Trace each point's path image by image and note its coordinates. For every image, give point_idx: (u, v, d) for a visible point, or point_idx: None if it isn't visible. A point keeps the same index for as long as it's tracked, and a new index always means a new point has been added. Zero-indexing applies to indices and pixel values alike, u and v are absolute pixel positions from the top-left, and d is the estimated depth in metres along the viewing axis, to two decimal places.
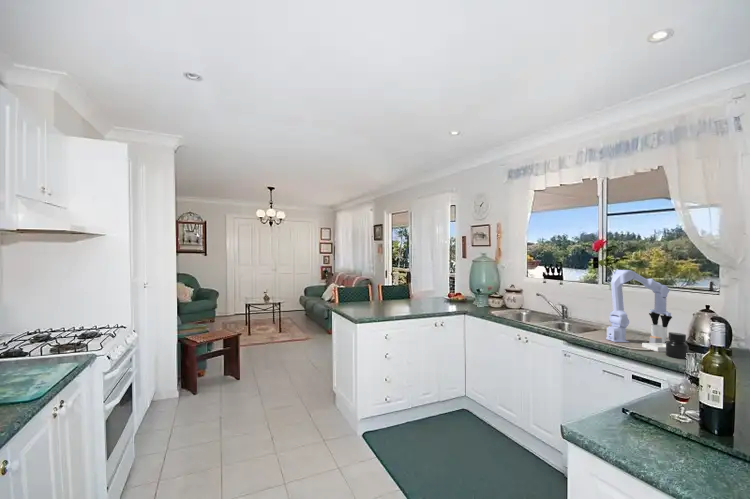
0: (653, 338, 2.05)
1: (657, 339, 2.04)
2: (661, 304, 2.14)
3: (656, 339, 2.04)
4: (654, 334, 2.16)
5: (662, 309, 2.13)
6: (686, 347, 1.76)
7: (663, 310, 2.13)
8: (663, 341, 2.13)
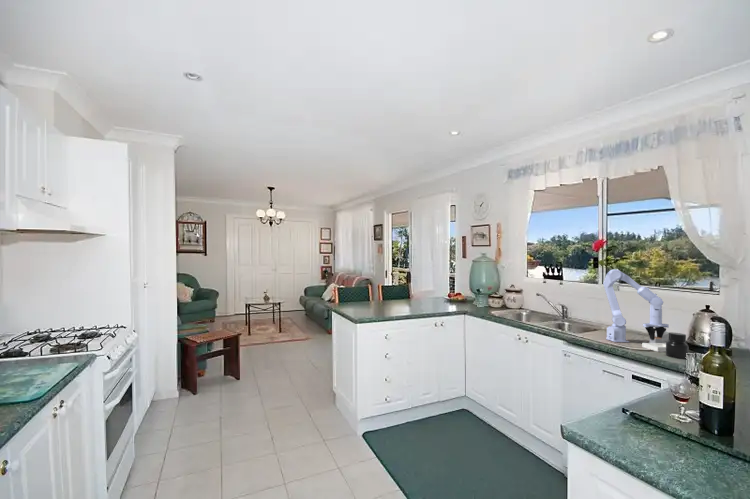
0: None
1: (657, 339, 2.04)
2: (650, 316, 2.07)
3: (656, 339, 2.04)
4: None
5: (650, 321, 2.07)
6: (686, 347, 1.76)
7: (651, 322, 2.06)
8: None
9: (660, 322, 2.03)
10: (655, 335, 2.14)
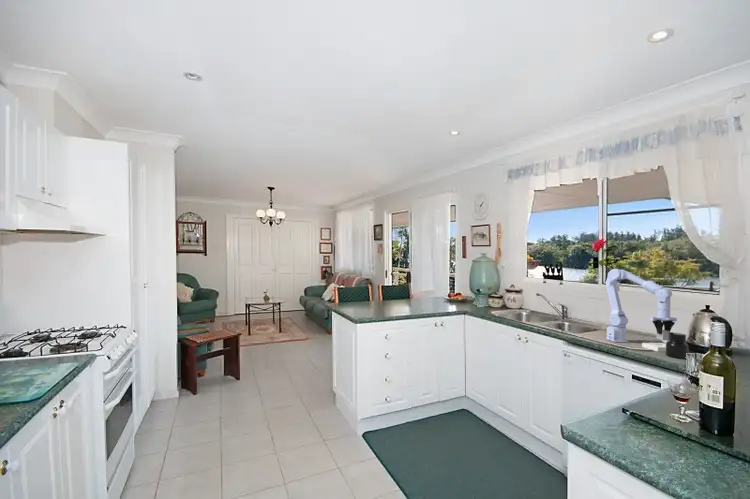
0: None
1: (665, 333, 1.94)
2: (657, 309, 1.97)
3: (664, 333, 1.94)
4: None
5: (657, 314, 1.96)
6: (686, 347, 1.76)
7: (658, 315, 1.96)
8: (664, 342, 2.12)
9: (668, 315, 1.93)
10: None
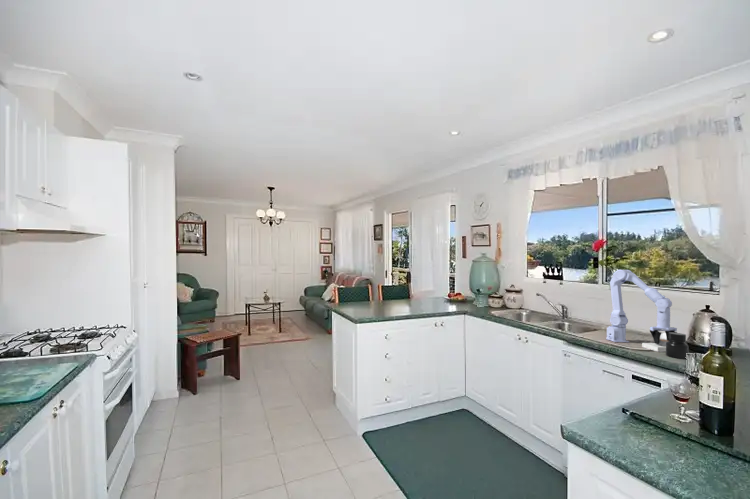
0: (660, 341, 1.95)
1: (665, 342, 1.94)
2: (657, 319, 1.97)
3: (664, 342, 1.94)
4: (663, 336, 2.10)
5: (657, 324, 1.96)
6: (686, 347, 1.76)
7: (658, 325, 1.96)
8: None
9: (668, 325, 1.93)
10: (661, 334, 2.13)
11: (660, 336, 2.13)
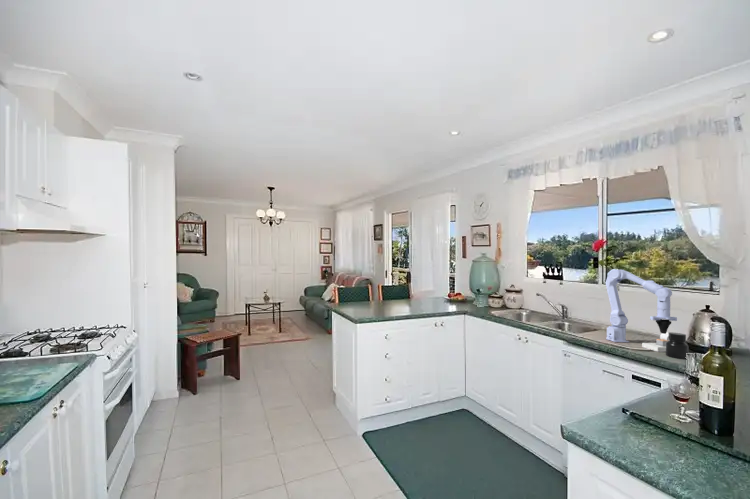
0: (660, 341, 1.95)
1: (665, 342, 1.94)
2: (657, 308, 1.97)
3: (664, 342, 1.94)
4: (663, 336, 2.10)
5: (657, 314, 1.96)
6: (686, 347, 1.76)
7: (658, 315, 1.96)
8: None
9: (668, 315, 1.93)
10: (661, 334, 2.13)
11: (660, 336, 2.13)
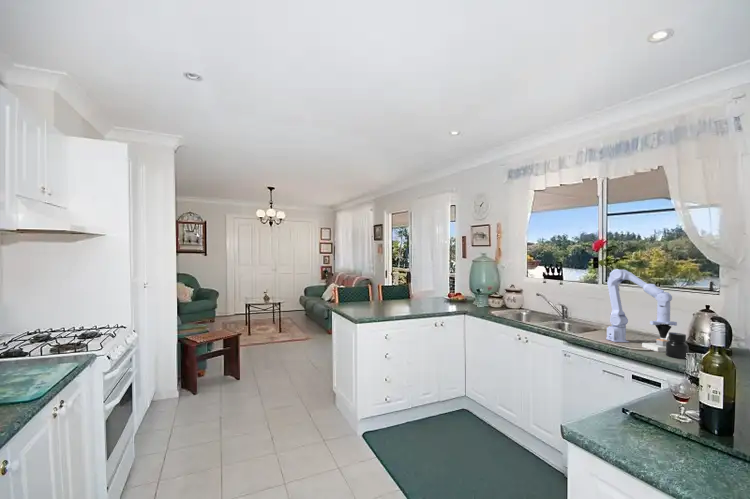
0: (660, 341, 1.95)
1: (665, 342, 1.94)
2: (657, 313, 1.97)
3: (664, 342, 1.94)
4: None
5: (657, 318, 1.96)
6: (686, 347, 1.76)
7: (658, 320, 1.96)
8: None
9: (668, 319, 1.93)
10: None
11: None
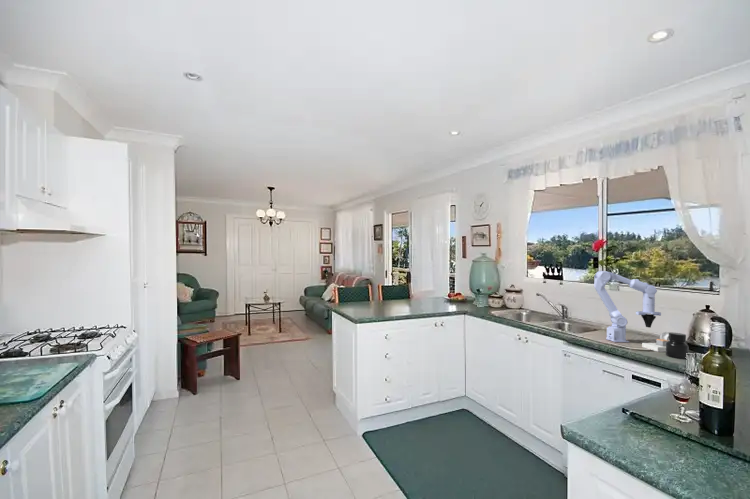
0: (660, 341, 1.95)
1: (665, 342, 1.94)
2: (643, 304, 2.11)
3: (664, 342, 1.94)
4: (663, 336, 2.10)
5: (643, 309, 2.11)
6: (686, 347, 1.76)
7: (644, 310, 2.10)
8: None
9: (653, 310, 2.08)
10: (661, 334, 2.13)
11: (660, 336, 2.13)
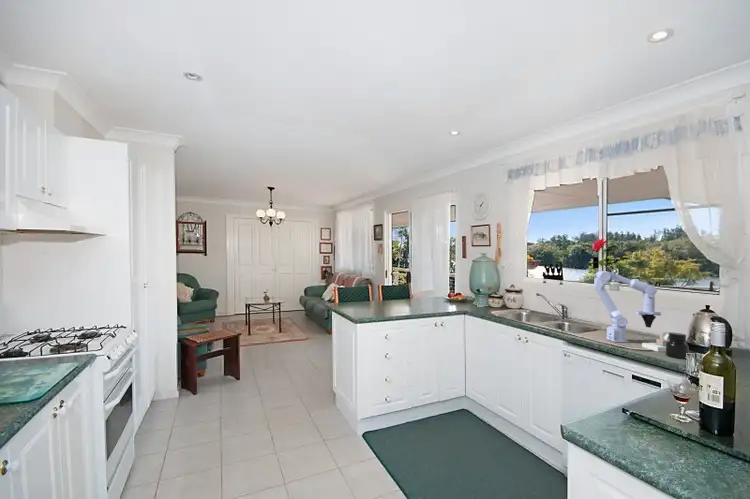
0: (660, 341, 1.95)
1: (665, 342, 1.94)
2: (643, 304, 2.11)
3: (664, 342, 1.94)
4: (663, 336, 2.10)
5: (643, 309, 2.11)
6: (686, 347, 1.76)
7: (644, 310, 2.10)
8: None
9: (653, 310, 2.08)
10: (661, 334, 2.13)
11: (660, 336, 2.13)
